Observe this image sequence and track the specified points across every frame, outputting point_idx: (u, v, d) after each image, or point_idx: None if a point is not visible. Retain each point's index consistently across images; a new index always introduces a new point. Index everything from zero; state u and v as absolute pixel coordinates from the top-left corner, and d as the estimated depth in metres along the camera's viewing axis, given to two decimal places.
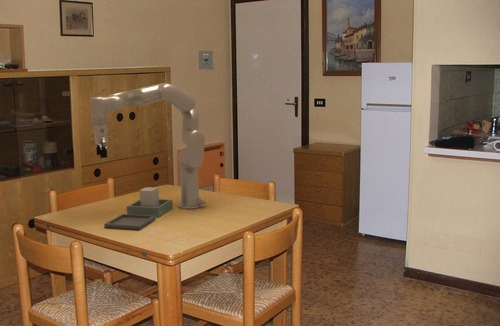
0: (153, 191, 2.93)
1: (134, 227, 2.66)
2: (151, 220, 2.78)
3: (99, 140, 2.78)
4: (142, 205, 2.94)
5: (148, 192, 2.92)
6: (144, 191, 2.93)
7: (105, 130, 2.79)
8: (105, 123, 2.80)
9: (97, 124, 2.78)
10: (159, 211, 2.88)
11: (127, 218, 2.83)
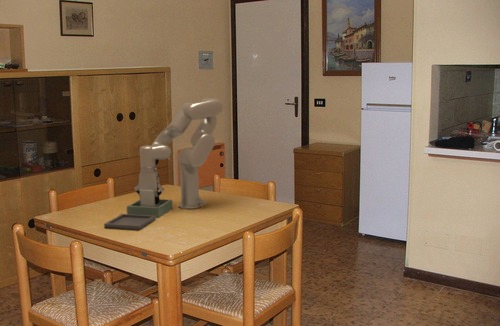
0: (153, 191, 2.92)
1: (134, 227, 2.66)
2: (151, 220, 2.78)
3: (156, 188, 2.93)
4: (142, 205, 2.94)
5: (148, 192, 2.92)
6: (144, 191, 2.92)
7: None
8: None
9: (152, 172, 2.91)
10: (159, 211, 2.88)
11: (127, 218, 2.83)
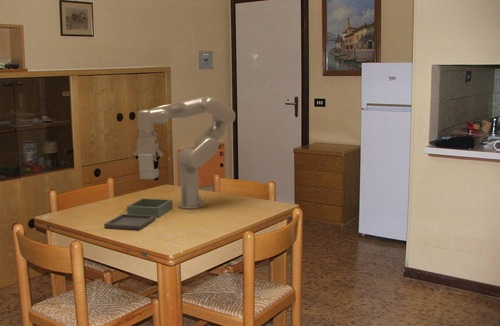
0: (152, 156, 2.89)
1: (134, 227, 2.66)
2: (151, 220, 2.78)
3: (155, 152, 2.89)
4: (141, 170, 2.91)
5: (147, 157, 2.89)
6: (143, 156, 2.89)
7: (156, 141, 2.92)
8: None
9: (151, 136, 2.88)
10: (159, 211, 2.88)
11: (127, 218, 2.83)
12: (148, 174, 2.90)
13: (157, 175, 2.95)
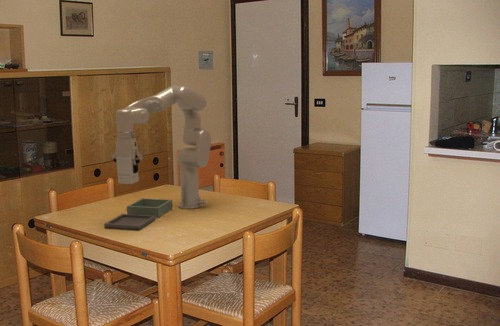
0: (131, 158, 2.68)
1: (134, 227, 2.66)
2: (151, 220, 2.78)
3: (134, 155, 2.68)
4: (119, 174, 2.70)
5: (125, 159, 2.67)
6: (121, 158, 2.68)
7: (136, 143, 2.70)
8: None
9: (130, 138, 2.67)
10: (159, 211, 2.88)
11: (127, 218, 2.83)
12: (126, 179, 2.69)
13: (137, 180, 2.74)
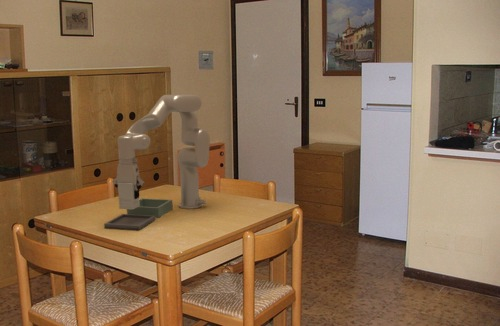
0: (132, 184, 2.70)
1: (134, 227, 2.66)
2: (151, 220, 2.78)
3: (135, 181, 2.70)
4: (120, 199, 2.72)
5: (127, 185, 2.69)
6: (122, 184, 2.70)
7: None
8: None
9: (131, 164, 2.69)
10: (159, 211, 2.88)
11: (127, 218, 2.83)
12: (128, 204, 2.71)
13: (138, 205, 2.76)
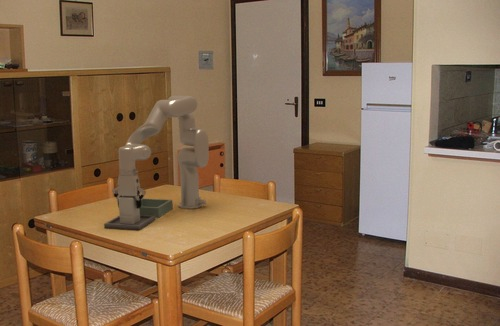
0: (133, 199, 2.72)
1: (134, 227, 2.66)
2: (151, 220, 2.78)
3: (136, 191, 2.71)
4: (121, 214, 2.73)
5: (127, 200, 2.71)
6: (123, 199, 2.72)
7: (138, 180, 2.73)
8: (135, 173, 2.74)
9: (132, 175, 2.70)
10: (159, 211, 2.88)
11: None
12: (128, 219, 2.73)
13: (138, 219, 2.77)
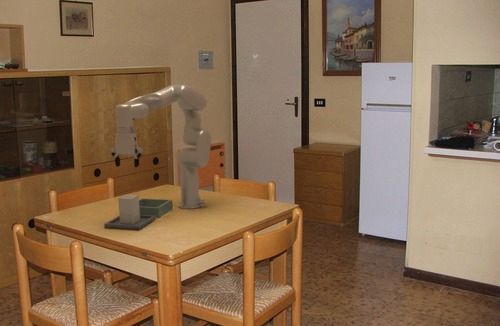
0: (133, 199, 2.72)
1: (134, 227, 2.66)
2: (151, 220, 2.78)
3: (134, 149, 2.68)
4: (121, 214, 2.73)
5: (127, 200, 2.71)
6: (123, 199, 2.72)
7: (136, 138, 2.70)
8: None
9: (130, 133, 2.67)
10: (159, 211, 2.88)
11: None
12: (128, 219, 2.73)
13: (138, 219, 2.77)
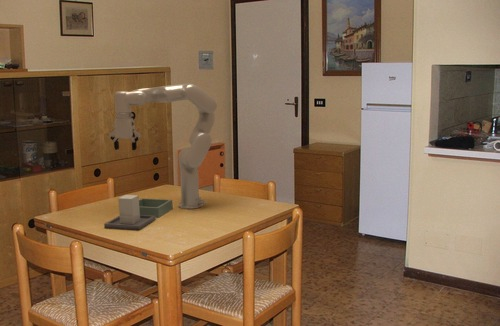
0: (133, 199, 2.72)
1: (134, 227, 2.66)
2: (151, 220, 2.78)
3: (132, 133, 2.86)
4: (121, 214, 2.73)
5: (127, 200, 2.71)
6: (123, 199, 2.72)
7: None
8: None
9: (128, 118, 2.85)
10: (159, 211, 2.88)
11: None
12: (128, 219, 2.73)
13: (138, 219, 2.77)
